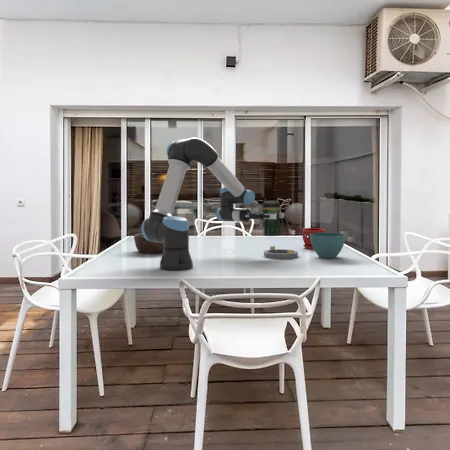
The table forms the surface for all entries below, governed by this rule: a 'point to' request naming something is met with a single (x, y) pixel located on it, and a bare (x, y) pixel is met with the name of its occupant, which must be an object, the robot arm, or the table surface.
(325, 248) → the plant pot
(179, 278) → the table surface
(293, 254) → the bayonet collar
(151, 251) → the wooden bowl
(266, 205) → the coffee jar
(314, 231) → the plant pot
